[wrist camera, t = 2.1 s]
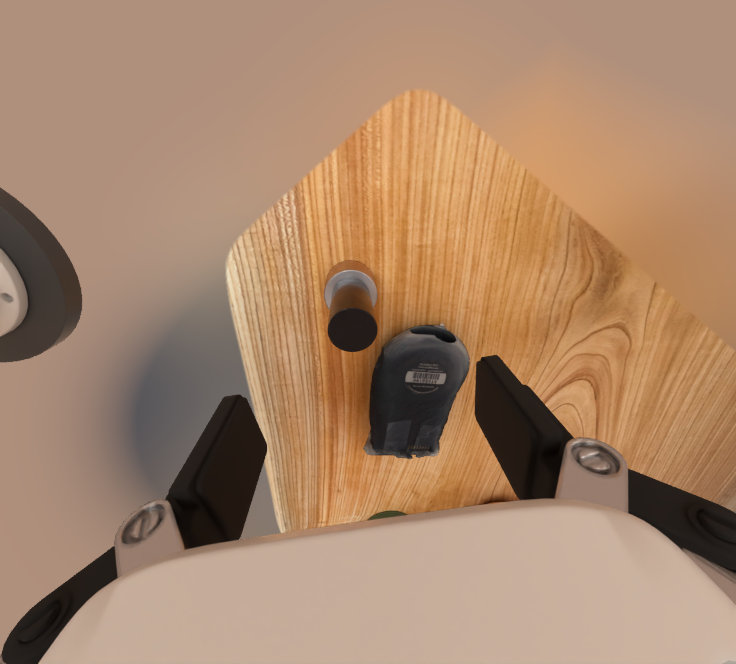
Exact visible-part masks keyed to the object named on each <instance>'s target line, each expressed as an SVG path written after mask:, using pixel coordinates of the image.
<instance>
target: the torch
mask: <svg viewBox="0 0 736 664" xmlns="http://www.w3.org/2000/svg"><path fill="white" fill-rule="evenodd" d="M324 298H325V302H326V305H327V307H328V308H329V310H330V314H329V323H328V335H329V338H330V340H331V342H332V343H333V344H334V345H335V346H336V347H338V348H339V349H341V350H344V351H348V352H357V351H361V350H364V349H366V348H367V347H369V346H370V345H371V344H372V343H373V341H374V340H375V338H376V335H377V323H376V319H375V314H374V310H373V308H374V306H375V304H376V301H377V288H376V285H375V281H374V278H373V275H372V273H371V271H370V270H369V269H368V268H367V267H366V266H365V265H364V264H362V263H360V262H357V261H352V260H349V261H343V262H340V263H338V264H337V265H335V266H334V267H333V268H332V269H331V270H330V272H329V274H328V276H327V280H326V285H325V291H324Z"/></svg>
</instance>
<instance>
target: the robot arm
mask: <svg viewBox="0 0 736 664" xmlns="http://www.w3.org/2000/svg"><path fill="white" fill-rule="evenodd" d="M27 308H28V297H27V291H26V288H25V285H24V282H23V280H22V278H21V276H20V274H19V272H18V270H17V268H16V267H15V265H14V264H13V263H12V261H11V260H10V259H9V257H8V256H7V254H6V253H5V252H4V251H3V250H2V249H1V248H0V336H3V335H5V334H7V333H9V332H11V331H13V330H14V329H15V328H17V327H18V326H19V325H20V324H21V323H22V321H23V319H24V318H25V316H26V313H27ZM475 417H476V420H477V422H478V424H479V426H480V428H481V429H482V431H483V433H484V435H485V437H486V439H487V441H488V443H489V445H490V446H491V448H492V450H493V452H494V454H495V456H496V458H497V460H498V462H499V463H500V465H501V467H502V469H503V471H504V473H505V475H506V477H507V479H508V480H509V482H510V484H511V486H512V488H513V490H514V492H515V494H516V495H517V497H518V498H519V499H520V500H518V501H509V502H501V503H493V504H484V505H476V506H468V507H461V508H454V509H447V510H439V511H432V512H425V513H418V514H410V515H403V516H396V517H389V518H382V519H375V520H368V521H361V522H354V523H347V524H340V525H333V526H326V527H319V528H313V529H306V530H299V531H293V532H286V533H279V534H273V535H266V536H259V537H252V538H246V539H240V540H239V538H240V537H241V534H242V531H243V527H244V524H245V521H246V518H247V514H248V511H249V508H250V505H251V501H252V498H253V495H254V492H255V488H256V485H257V482H258V479H259V475H260V472H261V469H262V466H263V463H264V459H265V456H266V453H267V444H266V441H265V439H264V437H263V434H262V432H261V430H260V428H259V425H258V423H257V421H256V419H255V416H254V414H253V412H252V410H251V407H250V405H249V403H248V401H247V399H246V398H244V397H242V396H241V395H232V396H226V397H224V398H223V399H222V401H221V403H220V404H219V406H218V408H217V409H216V411H215V413H214V414H213V417H212V418H211V420H210V421H209V423H208V425H207V426H206V428H205V430H204V432H203V433H202V435H201V437H200V438H199V440H198V442H197V444H196V445H195V447H194V449H193V450H192V452H191V454H190V455H189V457H188V459H187V461H186V463H185V464H184V466H183V467H182V469H181V471H180V472H179V474H178V476H177V478H176V479H175V481H174V483H173V484H172V486H171V488H170V489H169V494H168V495H167V497H166V499H165V500H164V499H157V500H154V501H151V502H148V503H146V504H144V505H143V506H141V507H139V508H138V509H137V510H135V511H134V512H133V513H132V514H131V515H130V516H129V517H128V518H127V519H126V520H125V521H124V522H123V523H122V525H121V526H120V528H119V529H118V531H117V533H116V536H115V542H114V545H115V546H114V547H112V548H111V549H110V550H108V551H107V552H106V553H104V554H103V555H101V556H100V557H99V558H97V559H96V560H95V561H93V562H92V563H91V564H89V565H88V566H87V567H85V568H84V569H82V570H81V571H80V572H78V573H77V574H76V575H74V576H73V577H72V578H70V579H69V580H68V581H66V582H65V583H64V584H62V585H61V586H60V587H58V588H57V589H56V590H54V591H53V592H51V593H50V594H49V595H47V596H46V597H45V598H43V599H42V600H41V601H40V602H38V603H37V604H36V605H35V606H34V607H32V608H31V609H30V610H29V611H28V612H27V613H26V614H25V616H24V617H23V618H22V619H21V620H20V621H19V622H18V623H17V625H16V626H15V628H14V629H13V630H12V631H11V633H10V635H9V637H8V638H7V640H6V642H5V644H4V647H3V651H2V654H1V655H0V664H736V513H734V512H733V511H731V510H729V509H727V508H725V507H723V506H720V505H718V504H716V503H713V502H711V501H708V500H706V499H703V498H701V497H698V496H696V495H693V494H691V493H688V492H686V491H683V490H681V489H678V488H676V487H673V486H671V485H668V484H665V483H663V482H660V481H658V480H655V479H653V478H650V477H648V476H645V475H643V474H640V473H638V472H635V471H633V470H630V469H628V467H627V463H626V461H625V459H624V458H623V457H622V455H621V454H620V453H619V452H617V451H616V450H615V449H614V448H612V447H611V446H609V445H607V444H606V443H603V442H601V441H598V440H596V439H591V438H582V437H579V438H573V436H572V435H571V434H570V433H569V432H568V431H567V430H566V428H565V427H564V426H563V425H562V424H561V423H560V422H559V420H558V419H557V418H556V417H555V416H554V415H553V414H552V412H551V411H550V410H549V409H548V408H547V407H546V406H545V404H544V403H543V402H542V401H541V400H540V399H539V398H538V396H537V395H536V394H535V393H534V392H533V391H532V390H531V388H530V387H528V386H527V385H522V384H521V382H520V381H519V380H518V379H517V378H516V376H515V375H514V374H513V373H512V372H511V371H510V369H509V368H508V367H507V366H506V365H505V364H504V362H503V361H502V360H501V359H500V358H499V357H498V356H497V355H493V356H487V357H482V358H481V361H478V362H477V364H476V390H475Z"/></svg>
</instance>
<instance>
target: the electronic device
mask: <svg viewBox="0 0 736 664" xmlns="http://www.w3.org/2000/svg"><path fill="white" fill-rule="evenodd" d="M469 363H470V362H469V355H468V352H467V350H466V348H465V346H464V344H463V343H462V342H461V340H460V339H459V338H458V337H456V336H455V335H454V334H453V333H451V332H450V331H448V330H447V329H446V328H445V326H444V324H443V323H442V324H439V325H436V326H435V325H424V326H417V327H413V328H411V329H408V330H406V331H404V332H402V333H400V334H398V335H397V336H395V337H394V338H392V339H391V340H390V341H388V342H387V343H386V345H385V346H384V347H383V348H382V352H381V355H380V356H379V358H378V361H377V363H376V365H375V368H374V371H373V375H372V383H371V391H370V410H369V418H370V425H371V430H370V433H369V436H368V439H367V441H366V444H365V446H364V448H363V449H364V450H365V452H366V454H368V455H395V456H396V457H397V458H408V459H412V458H413V457H412V456H411V455H416V457H418V458H420V457H424V456H436V455H437V454H438V453H439V440H440V437H441V435H442V432H443V429H444V426H445V424H446V422H447V420H448V415H449V412H450V410H451V407H452V404H453V401H454V399H455V397H456V394H457V392H458V391H459V389H460V387H461V386H462V384H463V382H464V381H465V378H466V376H467V373H468V371H469Z"/></svg>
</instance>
